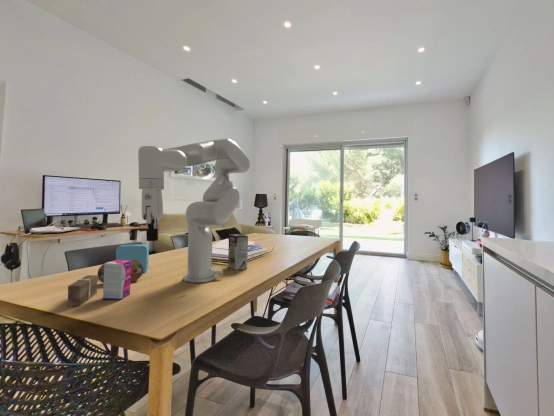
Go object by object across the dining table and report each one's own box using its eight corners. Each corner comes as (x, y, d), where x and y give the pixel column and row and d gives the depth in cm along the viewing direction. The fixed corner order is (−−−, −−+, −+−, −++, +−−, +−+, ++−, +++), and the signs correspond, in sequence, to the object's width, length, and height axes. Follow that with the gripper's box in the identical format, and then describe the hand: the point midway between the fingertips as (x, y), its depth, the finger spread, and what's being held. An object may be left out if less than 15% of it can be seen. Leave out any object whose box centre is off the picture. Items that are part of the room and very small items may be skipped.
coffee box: (227, 266, 134) (228, 234, 134) (239, 265, 138) (240, 233, 138) (235, 270, 127) (236, 236, 127) (247, 269, 130) (248, 235, 130)
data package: (148, 270, 122) (148, 244, 122) (146, 273, 118) (146, 245, 118) (118, 271, 119) (119, 244, 119) (115, 274, 115) (116, 246, 115)
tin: (97, 285, 99) (97, 262, 99) (98, 283, 102) (98, 260, 102) (143, 281, 106) (143, 259, 106) (142, 279, 109) (143, 258, 109)
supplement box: (121, 300, 84) (122, 263, 84) (102, 300, 84) (102, 263, 84) (131, 294, 90) (131, 260, 90) (113, 294, 90) (113, 259, 90)
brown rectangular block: (97, 293, 91) (97, 274, 91) (80, 306, 79) (80, 284, 79) (86, 293, 90) (86, 274, 90) (67, 306, 78) (67, 285, 78)
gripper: (159, 184, 82) (160, 244, 83) (167, 185, 97) (168, 237, 98) (132, 183, 81) (133, 245, 81) (144, 185, 95) (145, 237, 96)
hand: (152, 240), depth 90 cm, fingers closed
